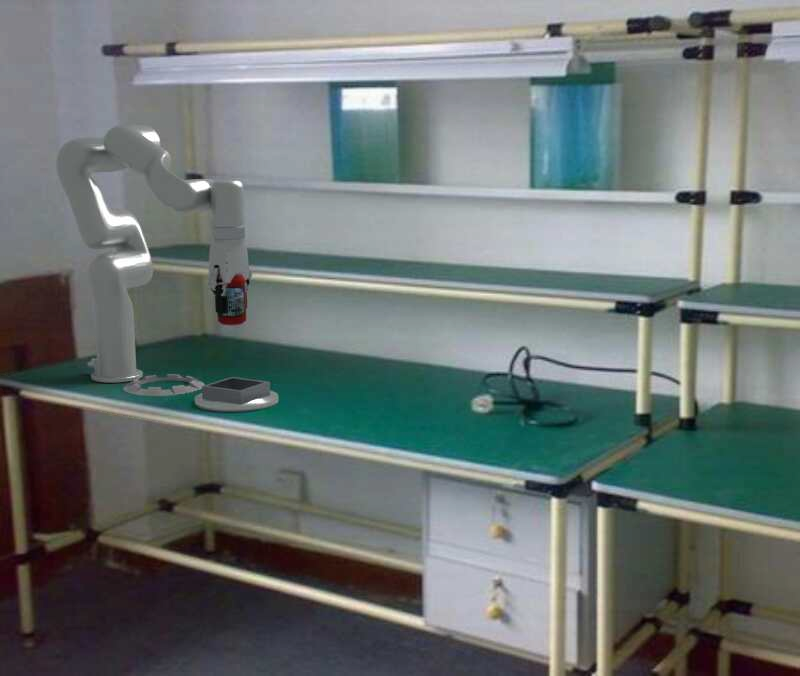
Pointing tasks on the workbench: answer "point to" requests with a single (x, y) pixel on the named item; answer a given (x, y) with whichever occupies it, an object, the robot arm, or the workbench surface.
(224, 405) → the rosette plate
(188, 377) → the ring
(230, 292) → the beverage can
